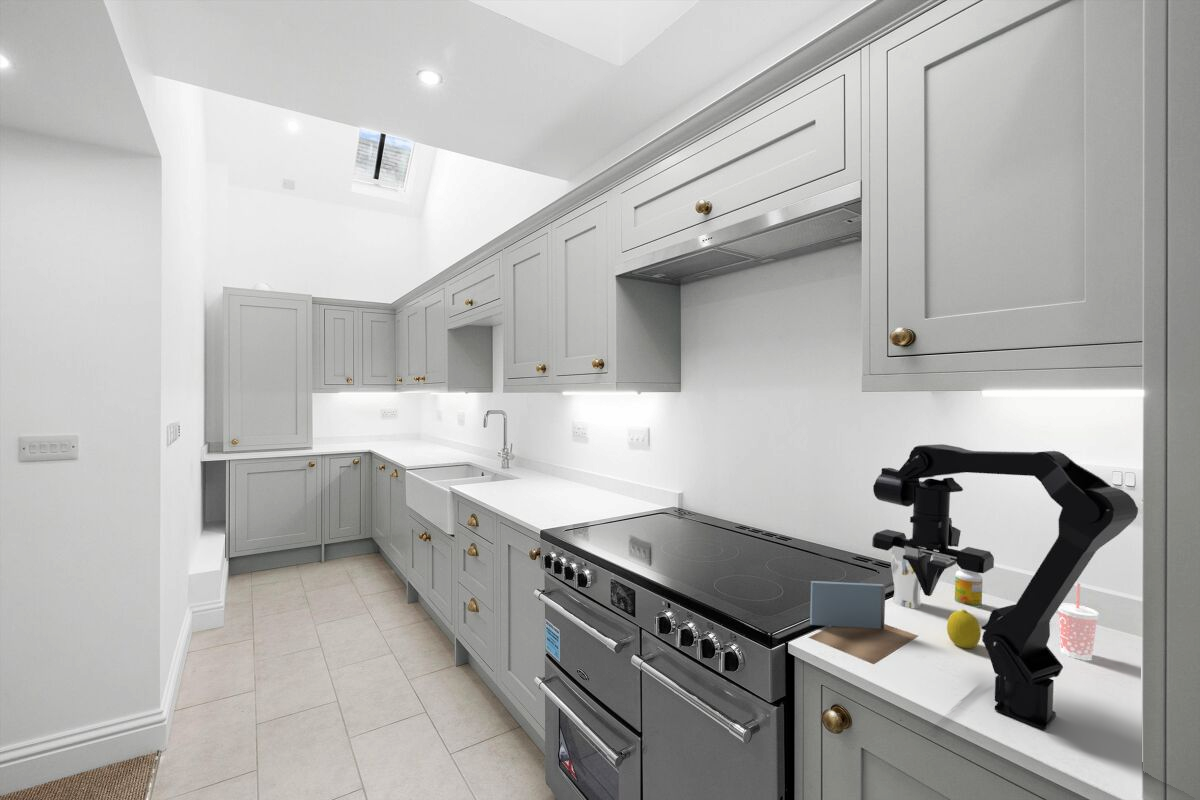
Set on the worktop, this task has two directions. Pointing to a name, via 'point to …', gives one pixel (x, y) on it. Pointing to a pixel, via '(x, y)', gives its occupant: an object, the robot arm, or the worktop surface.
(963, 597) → the supplement bottle
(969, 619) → the lemon
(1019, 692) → the robot arm
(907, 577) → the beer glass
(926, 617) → the worktop surface
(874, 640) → the brown flat rectangle
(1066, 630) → the beverage cup
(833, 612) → the door
